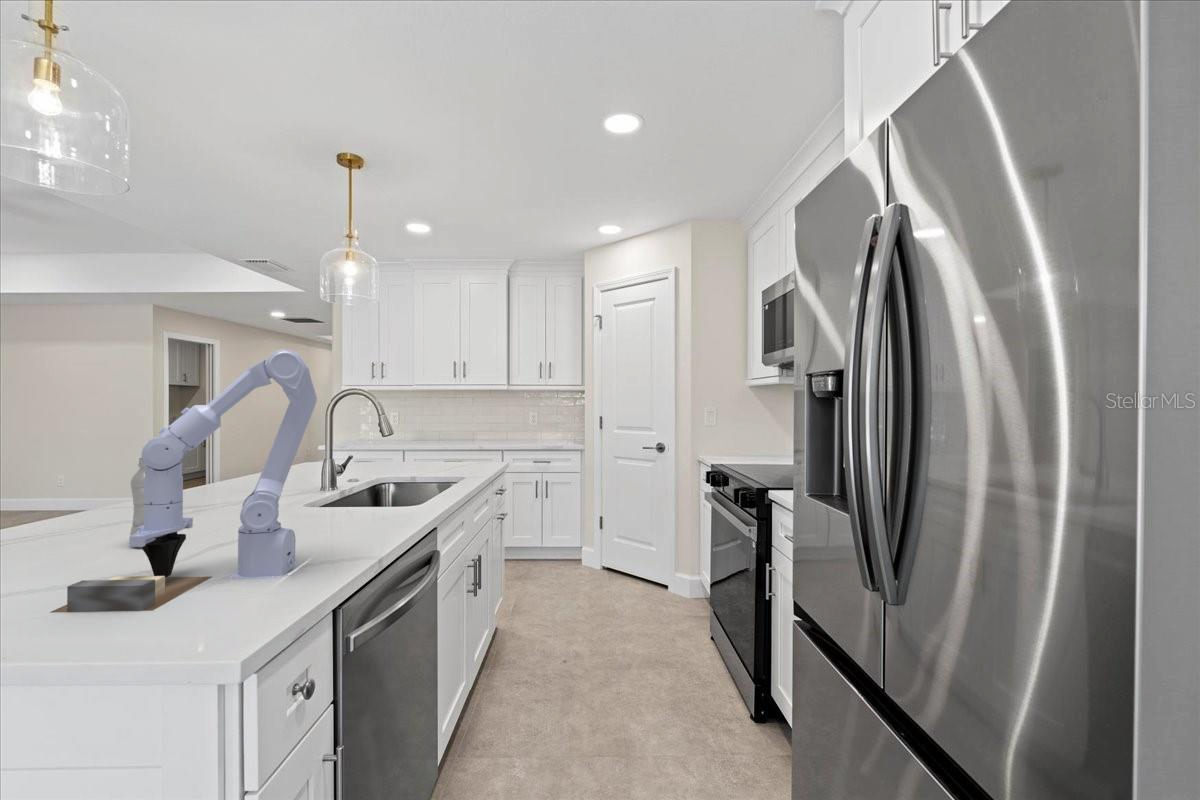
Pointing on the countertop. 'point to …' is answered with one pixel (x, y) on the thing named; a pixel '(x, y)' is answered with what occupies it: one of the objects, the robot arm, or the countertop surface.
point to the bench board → (124, 594)
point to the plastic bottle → (138, 497)
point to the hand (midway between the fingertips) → (162, 576)
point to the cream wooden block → (158, 579)
